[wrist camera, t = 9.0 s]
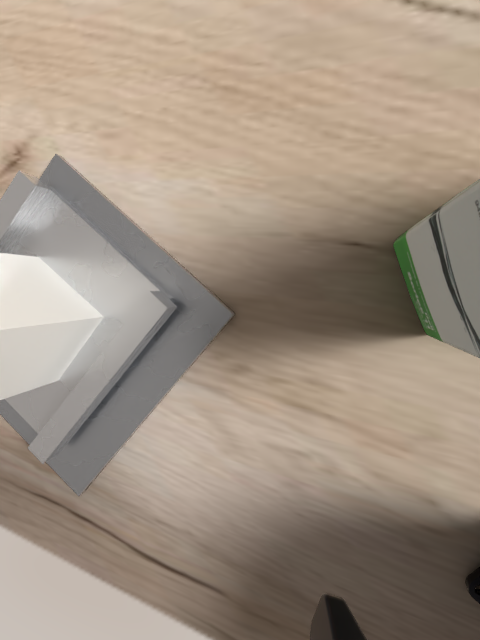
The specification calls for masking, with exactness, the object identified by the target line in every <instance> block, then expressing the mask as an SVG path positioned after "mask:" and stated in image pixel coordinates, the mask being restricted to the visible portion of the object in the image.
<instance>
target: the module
mask: <svg viewBox="0 0 480 640" xmlns="http://www.w3.org/2000/svg"><path fill="white" fill-rule="evenodd" d="M103 318H104V317H103V316H102V315H101V314H100V313H99V312H98V311H97V310H96V309H95V308H94V307H93V306H91V305H90V304H89V303H88V302H87V301H86V300H85V299H84V298H83V297H82V296H81V295H79V294H78V293H77V292H76V291H75V290H74V289H73V288H72V287H71V286H70V285H69V284H67V283H66V282H65V281H64V280H63V279H62V278H61V277H60V276H59V275H58V274H57V273H55V272H54V271H53V270H52V269H51V268H50V267H49V266H48V265H47V264H46V263H45V262H43V261H42V260H41V259H40V258H39V257H34V256H25V255H16V254H7V253H0V400H2V399H5V398H8V397H11V396H14V395H17V394H20V393H23V392H26V391H29V390H32V389H35V388H38V387H41V386H44V385H47V384H50V383H53V382H56V381H58V380H59V379H60V377H61V376H62V375H63V373H64V372H65V370H66V369H67V368H68V366H69V365H70V363H71V362H72V361H73V359H74V358H75V357H76V355H77V354H78V352H79V351H80V350H81V348H82V347H83V345H84V344H85V343H86V341H87V340H88V339H89V337H90V336H91V334H92V333H93V332H94V330H95V329H96V327H97V326H98V325H99V323H100V322H101V320H102V319H103Z"/></svg>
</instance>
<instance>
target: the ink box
mask: <svg viewBox="0 0 480 640" xmlns="http://www.w3.org/2000/svg"><path fill="white" fill-rule="evenodd" d="M393 246H394V249H395V252H396V255H397V258H398V261H399V265H400V268H401V271H402V273H403V276H404V279H405V282H406V285H407V288H408V291H409V294H410V297H411V299H412V302H413V304H414V307H415V309H416V312H417V314H418V317H419V319H420V321H421V324H422V326H423V328H424V331H425V332H426V334H427V335H429V336H431V337H433V338H435V339H438V340H440V341H442V342H444V343H447V344H449V345H451V346H453V347H456V348H458V349H460V350H463V351H465V352H467V353H469V354H471V355H474V356H476V357H478V358H480V179H479V180H477V181H476V182H474V183H473V184H471V185H470V186H469V187H467V188H466V189H465V190H463V191H462V192H460V193H459V194H457V195H456V196H455V197H453V198H452V199H451V200H449V201H448V202H447V203H445V204H444V205H442V206H441V207H440V208H438V209H437V210H435V211H434V212H433V213H431V214H430V215H428V216H427V217H425V218H424V219H423V220H421V221H420V222H418V223H417V224H416V225H414V226H413V227H412V228H410V229H409V230H407V231H406V232H405V233H404V234H402V235H401V236H400V237H398V238H397V239H396V241H395V242H394V245H393Z"/></svg>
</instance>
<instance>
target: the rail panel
mask: <svg viewBox="0 0 480 640" xmlns="http://www.w3.org/2000/svg"><path fill="white" fill-rule="evenodd" d="M0 253H7V254H16V255H25V256H34V257H39V258H40V259H41V260H42V261H43V262H45V263H46V264H47V265H48V266H49V267H50V268H51V269H52V270H53V271H54V272H55V273H57V274H58V275H59V276H60V277H61V278H62V279H63V280H64V281H65V282H66V283H67V284H69V285H70V286H71V287H72V288H73V289H74V290H75V291H76V292H77V293H78V294H79V295H81V296H82V297H83V298H84V299H85V300H86V301H87V302H88V303H89V304H90V305H91V306H93V307H94V308H95V309H96V310H97V311H98V312H99V313H100V314H101V315H102V316H103V317H104V318H103V319H102V320H101V322H100V323H99V325H98V326H97V327H96V329H95V330H94V332H93V333H92V334H91V336H90V337H89V339H88V340H87V341H86V343H85V344H84V345H83V347H82V348H81V350H80V351H79V352H78V354H77V355H76V357H75V358H74V359H73V361H72V362H71V363H70V365H69V366H68V368H67V369H66V370H65V372H64V373H63V375H62V376H61V377H60V379H59V380H58V381H56V382H53V383H50V384H47V385H44V386H41V387H38V388H35V389H32V390H29V391H26V392H23V393H20V394H17V395H14V396H11V397H8V398H5V399H2V400H0V414H1V415H2V417H3V418H4V419H5V420H6V421H7V422H8V423H9V424H10V425H11V426H12V427H13V428H14V429H15V430H16V431H17V432H18V433H19V434H20V435H21V436H22V438H23V439H24V440H25V441H26V442H27V443H28V444H29V445H30V446H29V447H28V449H29V450H30V451H31V452H32V453H33V454H34V455H35V456H36V457H37V459H38V460H39V461H40V462H41V463H42V464H44V463H47V464H48V465H49V466H50V467H51V468H52V469H53V470H54V471H55V472H56V473H57V474H58V475H59V476H60V477H61V478H62V479H63V481H64V482H65V483H66V484H67V485H68V486H69V487H70V488H71V489H72V490H73V491H74V492H75V493H76V494H77V495H78V496H80V495H81V494H82V493H83V492H84V491H85V490H86V489H87V488H88V486H89V485H90V484H91V483H92V482H93V480H94V479H95V478H96V477H97V476H98V475H99V473H100V472H101V471H102V470H103V469H104V468H105V466H106V465H107V464H108V463H109V462H110V460H111V459H112V458H113V457H114V456H115V455H116V453H117V452H118V451H119V450H120V449H121V448H122V446H123V445H124V444H125V443H126V442H127V440H128V439H129V438H130V437H131V436H132V435H133V433H134V432H135V431H136V430H137V429H138V428H139V426H140V425H141V424H142V423H143V422H144V420H145V419H146V418H147V417H148V416H149V415H150V413H151V412H152V411H153V410H154V409H155V408H156V406H157V405H158V404H159V403H160V402H161V401H162V399H163V398H164V397H165V396H166V395H167V393H168V392H169V391H170V390H171V389H172V388H173V386H174V385H175V384H176V383H177V382H178V381H179V379H180V378H181V377H182V376H183V375H184V373H185V372H186V371H187V370H188V369H189V368H190V366H191V365H192V364H193V363H194V362H195V361H196V359H197V358H198V357H199V356H200V355H201V353H202V352H203V351H204V350H205V349H206V348H207V346H208V345H209V344H210V343H211V342H212V341H213V339H214V338H215V337H216V336H217V335H218V334H219V332H220V331H221V330H222V329H223V328H224V326H225V325H226V324H227V323H228V322H229V321H230V319H231V318H232V317H233V316H234V315H235V313H234V312H233V311H232V310H231V309H230V308H228V307H227V306H226V305H225V304H224V303H223V302H222V301H221V300H220V299H218V298H217V297H216V296H215V295H214V294H213V293H212V292H211V291H210V290H208V289H207V288H206V287H205V286H204V285H203V284H202V283H201V282H200V281H199V280H197V279H196V278H195V277H194V276H193V275H192V274H191V273H190V272H189V271H187V270H186V269H185V268H184V267H183V266H182V265H181V264H180V263H179V262H177V261H176V260H175V259H174V258H173V257H172V256H171V255H170V254H169V253H168V252H166V251H165V250H164V249H163V248H162V247H161V246H160V245H159V244H158V243H156V242H155V241H154V240H153V239H152V238H151V237H150V236H149V235H148V234H146V233H145V232H144V231H143V230H142V229H141V228H140V227H139V226H138V225H137V224H135V223H134V222H133V221H132V220H131V219H130V218H129V217H128V216H127V215H125V214H124V213H123V212H122V211H121V210H120V209H119V208H118V207H117V206H115V205H114V204H113V203H112V202H111V201H110V200H109V199H108V198H107V197H106V196H104V195H103V194H102V193H101V192H100V191H99V190H98V189H97V188H96V187H94V186H93V185H92V184H91V183H90V182H89V181H88V180H87V179H86V178H84V177H83V176H82V175H81V174H80V173H79V172H78V171H77V170H76V169H75V168H73V167H72V166H71V165H70V164H69V163H68V162H67V161H66V160H65V159H63V158H62V157H61V156H60V155H57V154H55V156H54V157H53V159H52V160H51V162H50V164H49V165H48V167H47V168H46V170H45V171H44V173H43V174H42V176H41V177H40V179H38V178H37V177H36V176H33V175H30V174H28V173H25V172H22V171H20V170H19V171H18V173H17V174H16V176H15V178H14V179H13V181H12V182H11V184H10V186H9V187H8V189H7V190H6V192H5V193H4V195H3V197H2V198H1V200H0Z"/></svg>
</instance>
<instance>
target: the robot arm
mask: <svg viewBox="0 0 480 640" xmlns="http://www.w3.org/2000/svg"><path fill="white" fill-rule="evenodd" d="M477 585H480V567H479V568H478V569H477V570H475V571H474V572H473V573H472V574H470V575H469V576H468V577H467V579H466V587H467V589H468V591H469V593H470V595H471V596H472V597H473V598H474V599H475V600H476V601H477V602H478V603H479V604H480V589H475V587H476V586H477ZM310 640H367V639H366V638H365V636H364V634H363V632H362V631H361V629H360V627H359V625H358V623H357V622H356V620H355V618H354V616H353V615H352V613H351V611H350V609H349V607H348V606H347V604H346V602H345V601H344V600H343V599H342V598H341V597H338V596H335V595H331V594H327V593H325V594H323V595H322V597H321V599H320V601H319V604H318V607H317V609H316V612H315V614H314V617H313V620H312V624H311V631H310Z"/></svg>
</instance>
